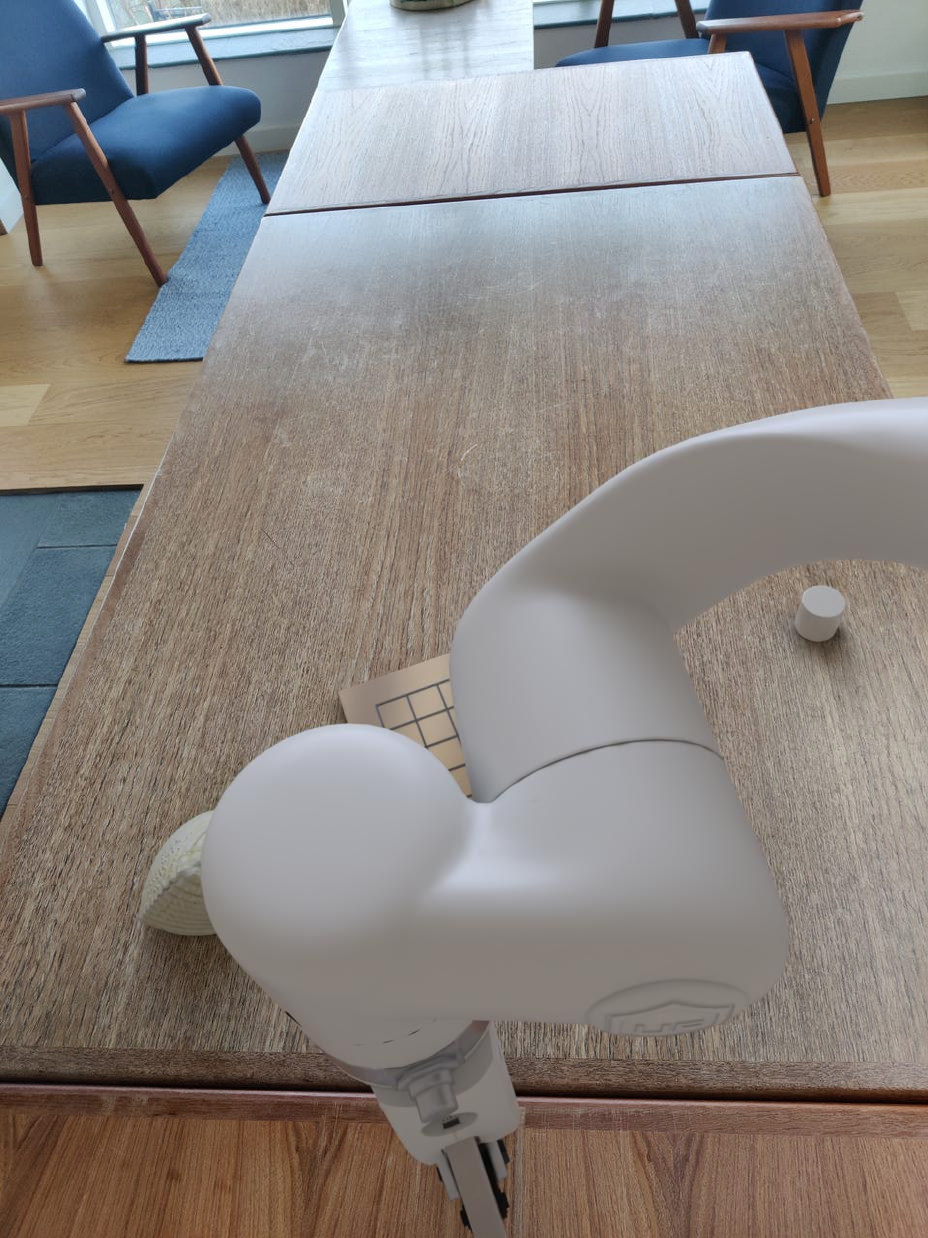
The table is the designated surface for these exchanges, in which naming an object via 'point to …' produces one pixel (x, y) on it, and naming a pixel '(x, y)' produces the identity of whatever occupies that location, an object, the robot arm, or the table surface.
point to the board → (413, 711)
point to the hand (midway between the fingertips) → (445, 1066)
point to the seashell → (178, 883)
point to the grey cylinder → (819, 613)
